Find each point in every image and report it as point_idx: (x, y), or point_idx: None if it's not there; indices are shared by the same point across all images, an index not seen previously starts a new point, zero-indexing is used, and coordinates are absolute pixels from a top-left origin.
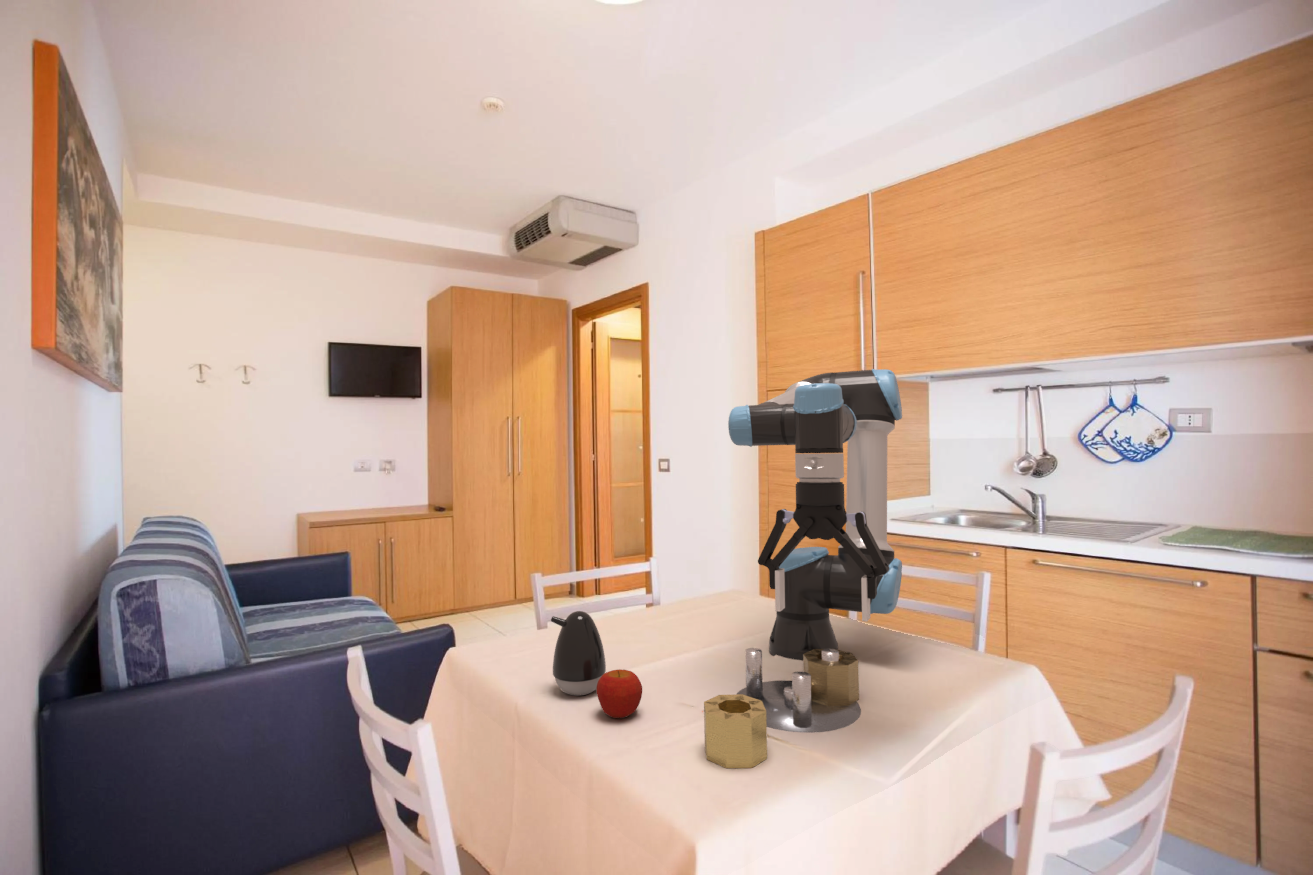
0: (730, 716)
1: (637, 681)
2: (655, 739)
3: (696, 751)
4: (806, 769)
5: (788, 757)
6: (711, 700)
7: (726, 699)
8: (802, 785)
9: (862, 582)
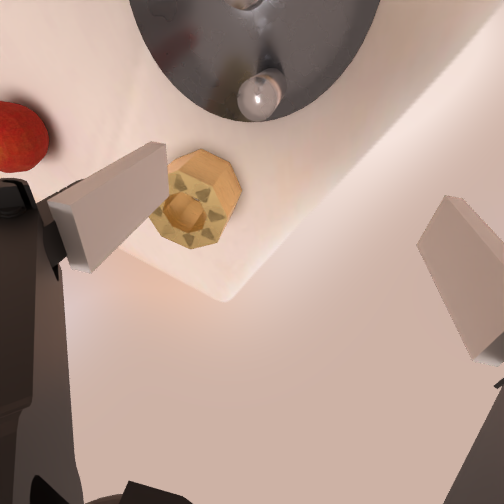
0: (192, 240)
1: (15, 143)
2: None
3: None
4: (288, 202)
5: (265, 181)
6: None
7: None
8: (286, 232)
9: (468, 345)
